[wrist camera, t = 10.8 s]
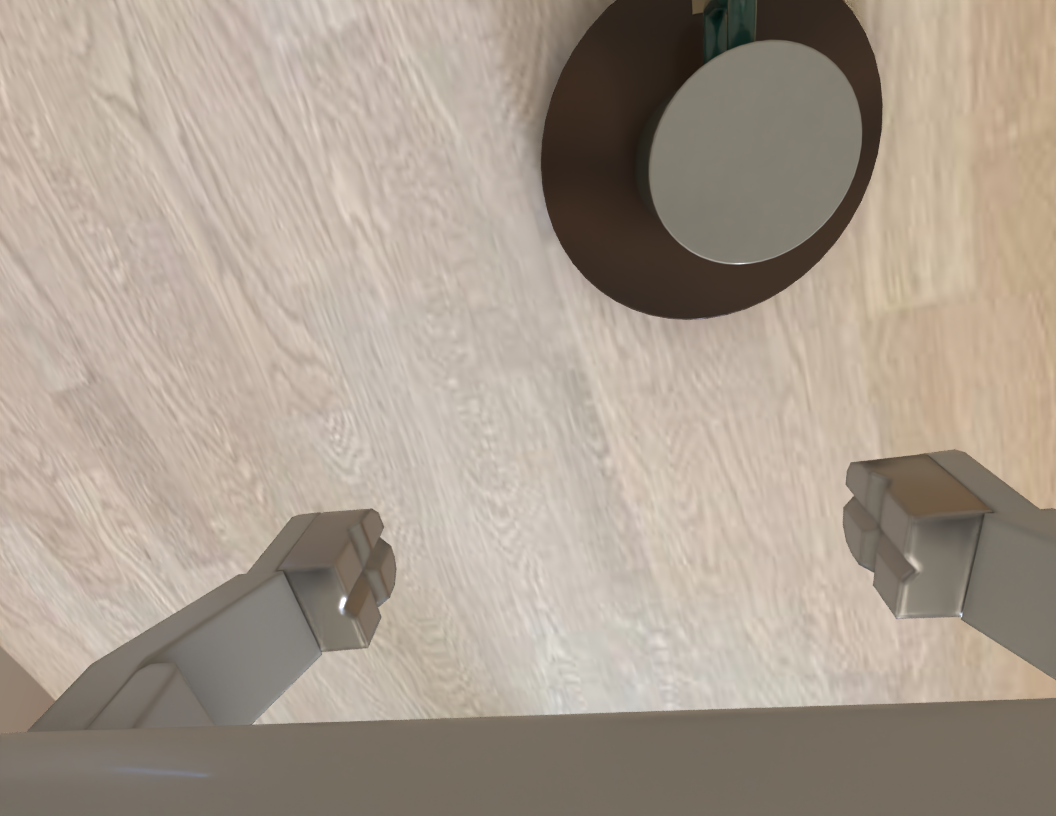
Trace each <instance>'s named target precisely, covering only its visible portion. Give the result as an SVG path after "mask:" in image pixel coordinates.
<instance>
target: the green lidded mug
mask: <svg viewBox="0 0 1056 816" xmlns="http://www.w3.org/2000/svg"><path fill="white" fill-rule="evenodd" d="M756 26H757V0H706V2H705V4H704V7H703V66H702V67H700V68H699V69H698V70H697V71H696V72H694V73H693V74H692V75H691V76H690V77H689V78H688V79H687V80H686V81H685V82H684V83H683V84H682V85H681V87H679V88H678V89H677V90H675V91H674V92H673V93H671V94H670V95H669V96H667V97H666V98H665V99H664V100H663V101H662V102H661V103H660V104H659V105H658V106H657V107H656V109H655V110H654V111H653V112H652V114H651V115H650V117H649V118H648V120H647V121H646V123H645V125H644V127H643V129H642V131H641V133H640V136H639V139H638V142H637V146H636V150H635V156H634V177H635V183H636V187H637V191H638V193H639V196H640V198H641V200H642V202H643V204H644V206H645V207H646V209H647V210H648V211H649V213H650V214H651V215H652V216H653V217H654V218H655V219H656V220H657V221H659V222H660V223H661V224H662V225H663V226H664V227H665V228H666V230H667V231H668V232H669V234H670V235H671V236H672V237H673V238H674V239H675V240H676V241H677V242H678V243H679V244H680V245H682V246H683V247H685V248H686V249H687V250H689V251H690V252H692V253H694V254H696V255H698V256H699V257H702V258H704V259H707V260H710V261H713V262H718V263H723V264H735V265H738V264H751V263H756V262H762V261H765V260H768V259H772V258H775V257H777V256H779V255H782V254H784V253H786V252H788V251H790V250H792V249H793V248H795V247H797V246H798V245H800V244H801V243H803V242H804V241H806V240H807V239H808V238H810V237H811V236H812V235H813V234H814V233H815V232H816V231H818V230H819V229H820V228H821V227H822V226H823V225H824V224H825V223H826V221H827V220H828V219H829V218H830V217H831V216H832V215H833V213H834V212H835V210H836V209H837V208H838V206H839V205H840V203H841V202H842V200H843V198H844V196H845V195H846V193H847V191H848V189H849V187H850V185H851V182H852V180H853V178H854V175H855V172H856V169H857V165H858V162H859V157H860V151H861V145H862V122H861V114H860V109H859V105H858V101H857V98H856V96H855V93H854V91H853V88H852V86H851V85H850V83H849V81H848V79H847V78H846V76H845V75H844V73H843V72H842V71H841V70H840V69H839V67H838V66H837V65H836V64H835V63H834V62H833V61H831V60H830V59H829V58H828V57H827V56H825V55H824V54H822V53H820V52H819V51H817V50H815V49H814V48H811V47H809V46H806V45H804V44H801V43H797V42H792V41H787V40H762V41H756Z"/></svg>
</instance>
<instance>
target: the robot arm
mask: <svg viewBox="0 0 1056 816" xmlns="http://www.w3.org/2000/svg"><path fill="white" fill-rule="evenodd" d="M846 486H847V487H848V488H849V489H850V491H851V492H852V493H853V495H854V496H853V497H852V498H851V500H850V501H849V502H848V503H847V504H846V505H845V506H844V507H843V528H844V533H845V538H846V542H847V544H848V547H849V549H850V551H851V553H852V555H853V556H854V558H855V559H856V561H857V562H858V564H859V565H861V566H863V567H864V568H866V569H868V570H870V571H872V572H874V581H873V586H874V587H875V589H876V590H877V592H878V593H879V595H880V596H881V597H882V599H883V600H884V602H885V603H886V605H887V606H888V607H889V609H890V610H891V612H892V613H893V615H894V616H895V618H896V619H904V618H937V617H961V620H963V621H964V622H966V623H967V624H969V625H970V626H972V627H974V628H975V629H977V630H978V631H980V632H981V633H983V634H985V635H986V636H988V637H989V638H991V639H992V640H994V641H995V642H997V643H999V644H1000V645H1002V646H1003V647H1005V648H1006V649H1008V650H1010V651H1011V652H1013V653H1014V654H1016V655H1017V656H1019V657H1021V658H1022V659H1024V660H1025V661H1027V662H1028V663H1030V664H1032V665H1033V666H1035V667H1036V668H1038V669H1039V670H1041V671H1042V672H1044V673H1046V674H1047V675H1049V676H1050V677H1052V678H1053V679H1055V680H1056V509H1053V508H1051V509H1039V508H1038V507H1036V506H1035V505H1034V504H1032V503H1031V502H1030V501H1028V500H1027V499H1026V498H1024V497H1023V496H1022V495H1020V494H1019V493H1018V492H1017V491H1015V490H1014V489H1013V488H1011V487H1010V486H1009V485H1007V484H1006V483H1005V482H1003V481H1002V480H1001V479H999V478H998V477H997V476H996V475H994V474H993V473H992V472H990V471H989V470H988V469H986V468H985V467H984V466H982V465H981V464H980V463H978V462H977V461H976V460H974V459H973V458H972V457H971V456H969V455H968V454H967V453H965V452H962V451H959V450H955V449H954V450H947V451H939V452H931V453H924V454H919V455H911V456H903V457H894V458H885V459H877V460H868V461H859V462H851V463H850V465H849V468H848V470H847V475H846ZM383 529H384V525H383V523H382V520H381V518H380V515H379V513H378V512H377V511H375V510H373V509H360V510H347V511H334V512H323V513H320V512H319V513H310V514H301V515H297V516H294V517H292V518H291V519H290V520H289V522H288V523H287V524H286V525H285V527H284V528H283V529H282V530H281V532H280V533H279V534H278V535H277V537H276V538H275V539H274V540H273V542H272V543H271V544H270V545H269V546H268V548H267V549H266V550H265V551H264V553H263V554H262V555H261V556H260V558H259V559H258V560H257V561H256V563H255V564H254V565H253V566H252V568H251V569H250V570H249V571H248V573H247V574H239V575H237V576H235V577H234V578H232V579H230V580H229V581H227V582H225V583H224V584H222V585H221V586H219V587H217V588H216V589H214V590H212V591H211V592H209V593H207V594H206V595H204V596H202V597H201V598H199V599H198V600H196V601H194V602H193V603H191V604H189V605H188V606H186V607H184V608H183V609H181V610H180V611H178V612H176V613H175V614H173V615H171V616H170V617H168V618H166V619H165V620H163V621H161V622H160V623H158V624H157V625H155V626H153V627H152V628H150V629H148V630H147V631H145V632H143V633H142V634H140V635H139V636H137V637H135V638H134V639H132V640H130V641H129V642H127V643H125V644H124V645H122V646H120V647H119V648H117V649H116V650H114V651H112V652H111V653H109V654H107V655H106V656H104V657H102V658H101V659H99V660H98V661H96V662H94V663H93V664H91V665H90V666H89V667H88V668H87V669H86V670H85V671H84V672H83V673H82V674H81V675H80V677H79V678H78V679H77V680H76V681H75V682H74V683H73V684H72V685H71V686H70V687H69V688H68V689H67V690H66V691H65V692H64V693H63V694H62V695H61V696H60V697H59V698H58V699H57V700H56V702H55V703H54V704H53V705H52V706H51V707H50V708H49V709H48V710H47V711H46V712H45V713H44V714H43V715H42V716H41V717H40V718H39V719H38V720H37V721H36V722H35V723H34V724H33V725H32V727H31V728H30V729H29V730H28V731H27V732H15V733H0V816H1056V698H1045V699H1016V700H988V701H960V702H931V703H900V704H868V705H836V706H804V707H772V708H740V709H708V710H677V711H648V712H618V713H588V714H559V715H529V716H500V717H470V718H440V719H410V720H379V721H349V722H319V723H289V724H259V725H252V724H253V723H254V722H255V721H256V720H257V719H258V718H259V717H260V716H261V715H262V714H263V713H264V712H265V711H266V710H267V709H268V708H269V707H270V706H271V705H272V704H273V703H274V702H275V701H276V700H277V699H278V698H279V697H280V696H281V695H282V694H283V693H284V692H285V691H286V690H287V689H288V688H289V687H290V686H291V685H292V684H293V683H294V682H295V681H296V680H297V679H298V678H299V677H300V676H301V675H302V674H303V673H304V672H305V671H306V670H307V669H308V668H309V667H310V666H311V665H312V664H313V663H314V662H315V661H316V660H317V659H318V658H319V657H320V656H321V655H322V653H321V652H327V651H338V650H350V649H362V648H368V647H369V645H370V642H371V640H372V638H373V635H374V633H375V631H376V628H377V626H378V624H379V622H380V619H381V615H380V612H379V609H378V607H379V606H380V605H381V604H383V603H384V602H385V601H386V600H387V599H389V598H390V596H391V593H392V591H393V588H394V586H395V578H396V562H395V556H394V553H393V550H392V547H391V546H390V545H389V544H388V543H386V542H385V541H384V540H383V539H381V538H380V536H381V533H382V531H383Z"/></svg>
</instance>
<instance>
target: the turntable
mask: <svg viewBox="0 0 1056 816" xmlns="http://www.w3.org/2000/svg"><path fill="white" fill-rule="evenodd" d="M705 2H706V0H616V1H615V2H614V3H613V4H611V5H610V6H609V7H608V8H607V9H606V10H605V11H604V12H603V13H602V14H601V16H600V17H599V18H598V19H597V20H596V21H595V22H594V23H593V24H592V25H591V27H590V28H589V29H588V31H587V32H586V33H585V35H584V36H583V38H582V39H581V40H580V42H579V43H578V45H577V46H576V47H575V49H574V51H573V52H572V54H571V56H570V58H569V60H568V61H567V63H566V65H565V67H564V69H563V71H562V73H561V75H560V78H559V80H558V82H557V85H556V87H555V90H554V92H553V95H552V98H551V102H550V105H549V109H548V112H547V116H546V120H545V126H544V133H543V139H542V153H541V172H542V185H543V192H544V197H545V202H546V207H547V211H548V214H549V217H550V220H551V223H552V226H553V229H554V231H555V233H556V235H557V237H558V239H559V241H560V243H561V245H562V247H563V249H564V250H565V252H566V253H567V255H568V256H569V258H570V259H571V261H572V263H573V264H574V265H575V266H576V267H577V269H578V270H579V271H580V272H581V273H582V274H583V276H584V277H585V278H586V279H587V280H588V281H590V282H591V283H592V284H593V285H594V286H595V287H596V288H597V289H599V290H600V291H601V292H603V293H604V294H606V295H607V296H609V297H610V298H612V299H613V300H615V301H616V302H618V303H621V304H623V305H625V306H627V307H629V308H631V309H633V310H636V311H639V312H642V313H645V314H648V315H652V316H657V317H663V318H668V319H683V320H693V319H708V318H713V317H718V316H724V315H728V314H731V313H735V312H738V311H741V310H744V309H747V308H750V307H752V306H754V305H756V304H759V303H761V302H763V301H765V300H767V299H769V298H771V297H772V296H774V295H776V294H778V293H779V292H781V291H783V290H784V289H786V288H787V287H789V286H790V285H791V284H793V283H794V282H795V281H797V280H798V279H799V278H801V277H802V276H803V275H804V274H806V273H807V272H808V271H809V270H810V269H811V268H812V267H813V266H814V265H815V264H816V263H817V262H819V261H820V260H821V258H822V257H823V256H824V255H825V254H826V253H827V252H828V250H829V249H830V248H831V247H832V246H833V245H834V244H835V242H836V241H837V240H838V238H839V237H840V235H841V234H842V233H843V231H844V230H845V228H846V227H847V225H848V224H849V223H850V221H851V219H852V217H853V215H854V213H855V212H856V210H857V208H858V206H859V204H860V203H861V201H862V198H863V196H864V193H865V191H866V189H867V186H868V184H869V181H870V179H871V176H872V172H873V169H874V165H875V162H876V158H877V155H878V149H879V143H880V136H881V130H882V106H883V104H882V94H881V83H880V77H879V73H878V69H877V64H876V60H875V56H874V53H873V51H872V48H871V46H870V43H869V41H868V38H867V36H866V33H865V31H864V30H863V28H862V26H861V25H860V23H859V21H858V20H857V18H856V16H855V15H854V13H853V11H852V10H851V9H850V8H849V7H848V6H847V4H846V3H845V2H844V1H843V0H757V26H756V41H762V40H787V41H792V42H797V43H801V44H804V45H806V46H809V47H811V48H814V49H815V50H817V51H819V52H820V53H822V54H824V55H825V56H827V57H828V58H829V59H830V60H831V61H833V62H834V63H835V64H836V65H837V66H838V67H839V69H840V70H841V71H842V72H843V73H844V75H845V76H846V78H847V79H848V81H849V83H850V85H851V86H852V88H853V91H854V93H855V96H856V98H857V101H858V105H859V109H860V114H861V122H862V145H861V151H860V157H859V162H858V165H857V169H856V172H855V175H854V178H853V180H852V182H851V185H850V187H849V189H848V191H847V193H846V195H845V196H844V198H843V200H842V202H841V203H840V205H839V206H838V208H837V209H836V210H835V212H834V213H833V215H832V216H831V217H830V218H829V219H828V220H827V221H826V223H825V224H824V225H823V226H822V227H821V228H820V229H819V230H818V231H816V232H815V233H814V234H813V235H812V236H811V237H810V238H808V239H807V240H806V241H804V242H803V243H801V244H800V245H798V246H797V247H795V248H793V249H792V250H790V251H788V252H786V253H784V254H782V255H779V256H777V257H775V258H772V259H768V260H765V261H762V262H756V263H751V264H738V265H735V264H723V263H718V262H713V261H710V260H707V259H704V258H702V257H699V256H698V255H696V254H694V253H692V252H690V251H689V250H687V249H686V248H685V247H683V246H682V245H680V244H679V243H678V242H677V241H676V240H675V239H674V238H673V237H672V236H671V235H670V234H669V232H668V231H667V230H666V228H665V227H664V226H663V225H662V224H661V223H660V222H659V221H657V220H656V219H655V218H654V217H653V216H652V215H651V214H650V213H649V211H648V210H647V209H646V207H645V206H644V204H643V202H642V200H641V198H640V196H639V193H638V191H637V187H636V183H635V177H634V156H635V150H636V146H637V142H638V139H639V136H640V133H641V131H642V129H643V127H644V125H645V123H646V121H647V120H648V118H649V117H650V115H651V114H652V112H653V111H654V110H655V109H656V107H657V106H658V105H659V104H660V103H661V102H662V101H663V100H664V99H665V98H666V97H667V96H669V95H670V94H671V93H673V92H674V91H675V90H677V89H678V88H679V87H681V85H682V84H683V83H684V82H685V81H686V80H687V79H688V78H689V77H690V76H691V75H692V74H693V73H694V72H696V71H697V70H698V69H699V68H700V67H702V66H703V7H704V4H705Z"/></svg>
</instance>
